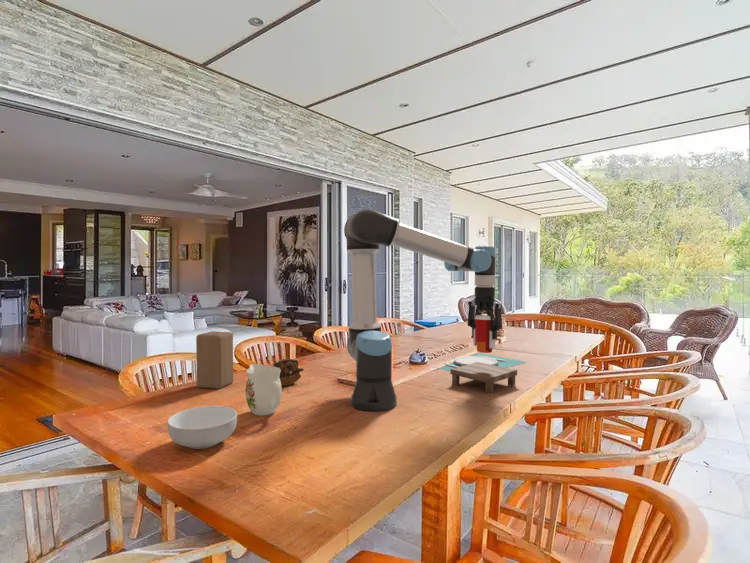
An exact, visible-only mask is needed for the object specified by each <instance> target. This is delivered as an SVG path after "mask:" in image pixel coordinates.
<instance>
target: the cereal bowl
mask: <svg viewBox="0 0 750 563" xmlns="http://www.w3.org/2000/svg"><path fill="white" fill-rule="evenodd" d="M237 424H238V413H237V410H235V409H234V408H233V407H229V406H226V405H206V406H197V407H192V408H188V409H184V410H181V411H180V412H177V413H175V414H173V415H171V416H170V417H169V418H168V419H167V424H166V425H167V432H168V435H169V437H170V439H171V440H172V441H173V442H174V443H175V444H177V445H179V446H182V447H187V448H190V449H196V450H200V449H207V448H212V447H214V446H216V445H218V444H219V443H221V442H223V441H225V440H226V439H228V438H229V437H230V436H231V435H232V434H233V432H235V429H236V427H237Z"/></svg>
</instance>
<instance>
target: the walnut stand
mask: <svg viewBox="0 0 750 563" xmlns="http://www.w3.org/2000/svg"><path fill="white" fill-rule="evenodd" d="M449 372H450V375H451V385H454V386H460V378H461V377H462V378H466V379H469V380H475V381H479V382H483V383H485V393H486V394H488V393H489V395H492V394H494V383H497V382H500V381H503V380H506V379H507V386H509V385H511V386H510V387H515V386H516V376H518V369H515V368H511V367H507V368H505V367H500V366H495V365H490V364H485V363H479V362H476V363H472V364H468V365H464V366H460V367H456V368H452V369H450V371H449ZM514 385H515V386H514ZM491 393H492V394H491Z"/></svg>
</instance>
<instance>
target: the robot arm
mask: <svg viewBox="0 0 750 563" xmlns="http://www.w3.org/2000/svg"><path fill="white" fill-rule="evenodd" d="M343 232H344V237H345V240H346V252H348V254H350V256H351V258H350V259H351V267H350V268H351V291H352V292H351V293H352V294H351V295H352V296H351V297H352V300H351V301H352V304H351V305H352V323H351V324H349V326H348V338H347V342H346V343H347V344H346V345H347V351H348V353H349V355H350V357H351V358H352V359H353V360H355V363H356V366H355V367H356V374H355V375H356V380H355V385H354V388H353V390H352V391H353V392H352V394H351V397H350V405H351V406H352V407H353V408H355V409H357V410H360V411H361V410H362V411H365V412H366V411H368V412H379V411H381V412H382V411H387V410H390V409H394V408H395V407H396V406H397V404H398V401H397V399H398V398H397V395H396V393H395V388H394V387H395V386H394V385H393V382H392V374H393V373H392V368H393V367H392V365H393V364H392V359H393V357H392V356H393V354H392V353H393V343H392V337H391V335H390V334H388V333H387V332H383V331H382V325H381V324H380V322H378V321H377V317H378V316H377V276H376V254H377V253H378V252H379V251H380V245H381V246H385V247H391V246H395V247H397V248H400V249H404V250H407V251H410V252H413V253H417V254H419V255H423V256H425V257H428V258H432V259H435V260H437V261H441V262H443V264H444V268H445V270H447V271H448V272H474V286H475V287H474V300H469V301H468V302H467V304H468V305H467V306H468V314H467V326H468V327H470V328H471V336H472V337H473V347H474V346H476V347H477V343H476V322H475V319H474V318H475V316H476V315H481V314H483V312H485V314H487V315H488V316H490V319H491V320H490V326H491V331H490V343H489V348H492V349H495V348H496V340H497V339H498V331H499V330H502V329H503V323H502V322H503V321H502V320H503V319H502V310H501V309H502V307H503V304H502V303H501V302H497V301H496V299H495V296H496V288H495V287H494V286H495V285H496V248H495V247H494V246H492V245H477V246H475V247H474V248H473V247H470V246H466V245H464V244H462V243H458V242H456V241H452V240H450V239H446V238H444V237H440V236H438V235H436V234H432V233H429V232H426V231H424V230H420V229H418V228H414V227H412V226H408V225H406V224H403V223H400V220H399V219H398V218H395V217H393V216H390V215H388V214H384V213H382V212H381V211H377V210H374V209H362V210H359V211H358V212H356V213H354V214H352V215H350V217H348V218H347V220H346V221H345V224H344V229H343ZM493 319H494V320H493Z"/></svg>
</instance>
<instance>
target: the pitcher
mask: <svg viewBox="0 0 750 563" xmlns="http://www.w3.org/2000/svg"><path fill="white" fill-rule="evenodd" d="M280 371H281V369H280V368H277V367H274V366H273V365H265V364H260V363H259V364H258V363H251V364H249V367H248V368H247V369H246V376H247V381H246V385H245V399H246V404H247V405H248V408H249V410H250V411H251V412H252V414H253V415H255V416H260V417H262V416H269V415H273V414H274V413H275V412H276V410H277V409H278V408H279V407H280V405H281V399H282V393H283V390H282V389H283V385H281V381H280V378H279V376H280Z"/></svg>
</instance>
